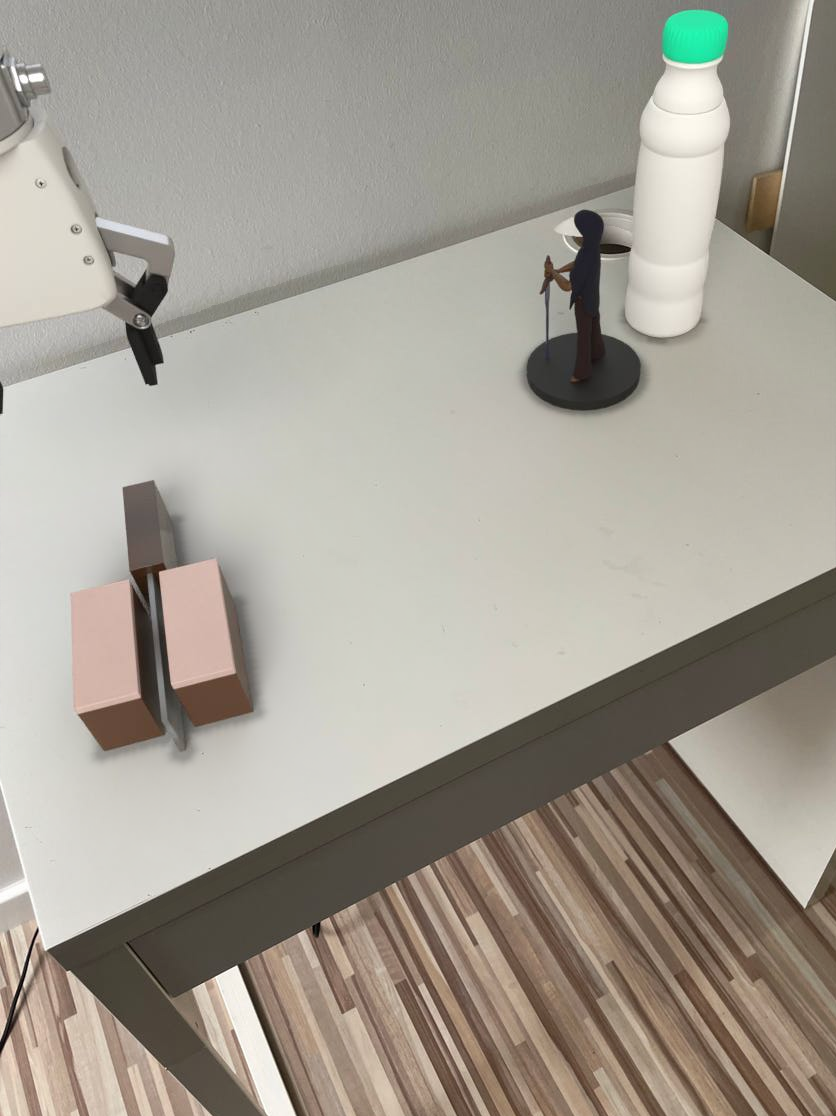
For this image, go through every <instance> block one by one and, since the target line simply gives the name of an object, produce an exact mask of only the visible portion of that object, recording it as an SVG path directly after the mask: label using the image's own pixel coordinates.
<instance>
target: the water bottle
mask: <svg viewBox="0 0 836 1116" xmlns="http://www.w3.org/2000/svg"><path fill="white" fill-rule="evenodd" d="M663 26H664V27H663V31H662V39H661V40H662V41H661V50H662V60H663V62H664V63H665V69H664V72H663V74H662V75H661V77H660V79H659V80H658V82H657V83H656V85H655V87H654V91H653V92H652V93H653V94H652V95H651V96H650V98H649V99H648V101H647V103H646V105H645V107H644V109H643V111H642V113H641V116H640V119H639V120H640V121H639V136H640V137H639V138H640V146H639V152H638V158H637V164H636V165H637V166H636V174H635V181H634V182H635V183H634V184H635V185H634V193H633V194H634V195H633V207H632V208H633V209H632V245H631V248H630V252H629V258H628V269H627V270H628V271H627V272H628V273H627V274H628V284H627V289H626V295H625V301H624V317H625V320H626V322H627V323H628V325H630V327H631V328H633V329H634V330H635V331H636V332H637V333H640V334H642V335H645V336H648V337H652V338H657V339H658V338H660V339H667V338H669V339H670V338H675V337H679V336H682V335H684V334H686V333H688V332H689V331H692V329H694V328H695V327H696V326H697V325H698V323H699V321H700V319H701V316H702V312H703V311H702V309H703V301H704V284H705V282H706V278H707V275H708V270H709V260H710V250H709V248H710V247H709V246H710V244H711V239H712V235H713V231H714V226H715V221H716V216H717V210H718V204H719V198H720V193H721V192H720V191H721V185H722V176H723V168H724V157H725V156H724V155H725V142H726V141H727V139H728V137H729V132H730V126H731V115H730V110H729V107H728V104H727V100H726V98H725V96H724V89H723V84H722V82H721V80H720V77H719V75H718V72H717V71H718V66H719V64H720V63H721V62H722V61H723V58H724V53H725V51H726V48H727V45H728V38H729V23H728V21H727V19H726V18H725V17H724V16H723V15H722V14H720V13H717V12H715V11H712V10H707V9H706V10H705V9H689V10H688V9H687V10H684V11H683V10H682V11H679V12H676V13H674V14H672V15H670V17H668V19H667V20H666V21H665V24H664V25H663Z"/></svg>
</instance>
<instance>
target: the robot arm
mask: <svg viewBox="0 0 836 1116" xmlns="http://www.w3.org/2000/svg"><path fill="white" fill-rule="evenodd" d="M50 94H52V88H51V84H50V81H49V78H48V75H47V72H46V70H45V67H44V65H43V63H42V62H39V63H32V64H27V63H26V62H23V61H22V62H18V60H17V59H16V57H15V56H11V55H10V52H9V49H8V47H7V45H6V44H3V43H2V40H1V39H0V329H4V328H10V327H15V326H20V325H26V324H31V323H36V322H41V321H46V320H51V319H57V318H60V317H61V318H62V317H68V316H71V315H78V314H83V313H86V312H90V311H95V310H98V309H102V310H105V311H106V312H108V313H110V314H111V315H113V316H115V317H116V318H118V319H120V320H122V321H123V322H124V324H125V326H124V327H125V332H126V338H127V341H128V344H129V346H130V348H131V351H132V353H133V356H134V359H135V361H136V363H137V364H136V365H137V366H138V369H139V371H140V375H141V377H142V379H143V381H144V384H145V385H148V386H149V387H152V386H157V385H159V384H158V383H159V382H158V375H157V374H158V373H157V367H156V366H157V365H162V364H165V361H164V355H163V351H162V347H161V344H160V342H159V339H158V337H157V334H156V330H155V327H154V325H153V323H152V318H153V316H154V314H155V312H156V311H157V310H158V308H159V306H161V303H162V302H163V301H164V299H165V298H166V296H167V294H168V292H169V287H168V286H169V283H170V278H171V275H172V272H173V271H172V270H173V267H174V266H173V265H174V261H175V258H176V251H175V246H174V241H173V238H172V237H171V236H170V235H167V234H164V233H160V232H157V231H152V230H148V229H145V228H141V227H138V226H133V225H130V224H127V223H122V222H119V221H114V220H111V219H108V218H103V217H101V216H100V214H99V211H98V209H97V207H96V204H95V202H94V200H93V198H92V195H91V193H90V191H89V189H88V186H87V184H86V182H85V180H84V177H83V176H82V173H81V172H80V169H79V168H78V165H77V164H76V161H75V160H74V157H73V156H72V154H71V151H70V149H69V147H68V146H67V144H66V142H65V140H64V139H63V137H62V135H61V133H60V131H59V129H58V128H57V127H56V124H55V123H54V122H53V119H52V118H51V116H50V115H49V114H48V112H47V110H46V109H45V108H44V107H42V106H40V105H38V104H33V103H32V100H38V97H39V96H44V95H50ZM115 253H118V254H121V255H126V256H129V257H133V258H138V259H142V260H144V261H145V262H147V265H146V268H145V270H144V272H143V273H142V275H141V277H140V278H139V279H138V281H137V283H135V282H133V281H131V280H130V279H128V278H127V277H125V276H123V275H122V274H120V273H119V272H117V271H115V270H114V267H117V260H116V256H115ZM3 414H4V385H3V383H2V382H1V381H0V415H3Z"/></svg>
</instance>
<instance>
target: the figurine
mask: <svg viewBox="0 0 836 1116" xmlns="http://www.w3.org/2000/svg"><path fill="white" fill-rule="evenodd" d="M604 229H605V223H604V219H603V218H602V216H601V215H600V214H598V213H597V212H595V211H593V210H589V209H580V210H579V211H577V212H576V213H575V214H574V215H573V216H570V217H569V218H567V219H565V220H562V221H561V222H559V224H557V225H556V226H554V229H553V231H554V232H555V233H557V234H559V235H564V236H568V237H569V236H570V237H575V239H576V241H577V242H578V243H580V244H581V247H580V248H579V250H578V251H577V253H576V255H575V258H574V260H573V261H571V262H568V263H567V264H564V265H563V266H561V267H559V268H558V269H557V268H554V263H553V261H551V256H550V255H549V254H548V255H546V257H545V261H544V262H543V268H544V269H543V277H544V280H543V282H542V285H541V288H540V291H539V295H543V294H544V305H545V341H543V342H542V343H541V344H539V345H538V346H537V347H536V348H534V350H533V351H532V352H531V353H530V355H529V356H528V359H527V363H526V380H527V383H528V386H529V388H530V390H531V391H532V392H533V393H534V395H536V396H537V397H538V398H539V399H541V400H542V401H543V402H546V403H548V404H550V405H552V406H554V407H558V408H561V409H567V410H570V411H596V410H600V409H605V408H609V407H612V406H615V405H617V404H619V403H621V402H623V401H624V400H626V399H627V398H628V397H629V396H631V395H632V394H633V393H634V391H635V390H636V389H637V388H638V386H639V383H640V378H641V368H642V367H641V366H642V363H641V360H640V357H639V356H638V354H637V352H636V351H635V350H634V349H633V348H632V347H631V346H630V345H629V344H627V343H625V342H624V341H623V340H621V339H619V338H616V337H614V336H611V335H607V334H603V333H602V327H601V313H600V305H601V304H600V303H601V295H600V283H601V270H602V269H601V268H602V255H601V254H602V253H601V248H600V244H601V243H602V242H601V241H602V238H603V235H604V231H605V230H604ZM562 273H563V274H564V273H568V278H569V279H567V278H566V277H564V275H562ZM553 281H555V283H556V284H557V286H558V288H559V289H560V290H561V291H563V292H565V293H566V292H567V293H568V292H570V298H569V306H568V307H569V311H571V310H572V308H573V310H574V319H575V326H576V332H570V333H569V332H568V333H565V334H560V335H557V336H555V337H552V338H549V337H550V336H549V335H550V334H549V333H550V332H549V331H550V330H549V329H550V299H551V298H550V297H551V282H553ZM573 306H574V307H573Z"/></svg>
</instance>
